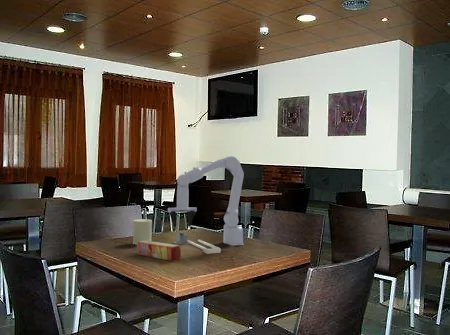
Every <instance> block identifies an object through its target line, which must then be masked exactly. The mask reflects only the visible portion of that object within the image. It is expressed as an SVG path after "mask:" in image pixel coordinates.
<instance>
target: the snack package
mask: <svg viewBox="0 0 450 335" xmlns="http://www.w3.org/2000/svg"><path fill="white" fill-rule="evenodd" d="M136 253H137V255H139V256H143V257H144V256H145V257H148V258H154V259H157V260H162V261H163V260H164V261H167V262H168V261H169V262H176V261H179V260H180V259H181V257H182V256H181V255H182V252H181V246H180V244H175V243H172V244H171V243H166V242H158V241H153V240H151V241H145V240H143V241H140V242H138V244H137V245H136Z"/></svg>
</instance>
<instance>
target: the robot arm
mask: <svg viewBox="0 0 450 335" xmlns="http://www.w3.org/2000/svg"><path fill="white" fill-rule="evenodd" d="M218 168H225V169H227V170H228V171H229V172H230V173H231V174H232V176H233V179H232V184H231V190H230V196H229V202H228V207H227V209H226V213H225V214H224V216H223V221H224V225H223V238H222V240H223V244H227V245H229V246H244V229H243V227H242V226H239V225H238V224H239V223H240V221H239V203H240V197H241V193H242V186H243V181H244V177H245V176H244V175H245V173H244V170H243V168H242V165H241V161H240V160H239V159H238V158H237V157H235V156H226V157H223V158H220V159H216V160H215V161H213V162H211V163H209V164H208V165H204V166H203V167H195V166H194V167H192V169H191V170H189V171H184V173H183V174H180V175H178V177H177V180H176V183H177V189H176V207H168V208H167V213H168V214H169V216H170V219H171V221H172V225H173V228H177V218H178V213H186V212H187V213H186V214H187V226H188V227H191V225H192V222H193V220H194V217H195V216H196V212H197V211H198V209H197V208H198V207H196V206H195V207H193V206H192V207H189V200H190V199H189V195H190V194H189V191H190V189H189V184H192V183H194V182H197V181H199V180H200V179H203V178H204V176H205V174H206V173H209V172H212V171H215V170H216V169H218Z"/></svg>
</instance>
